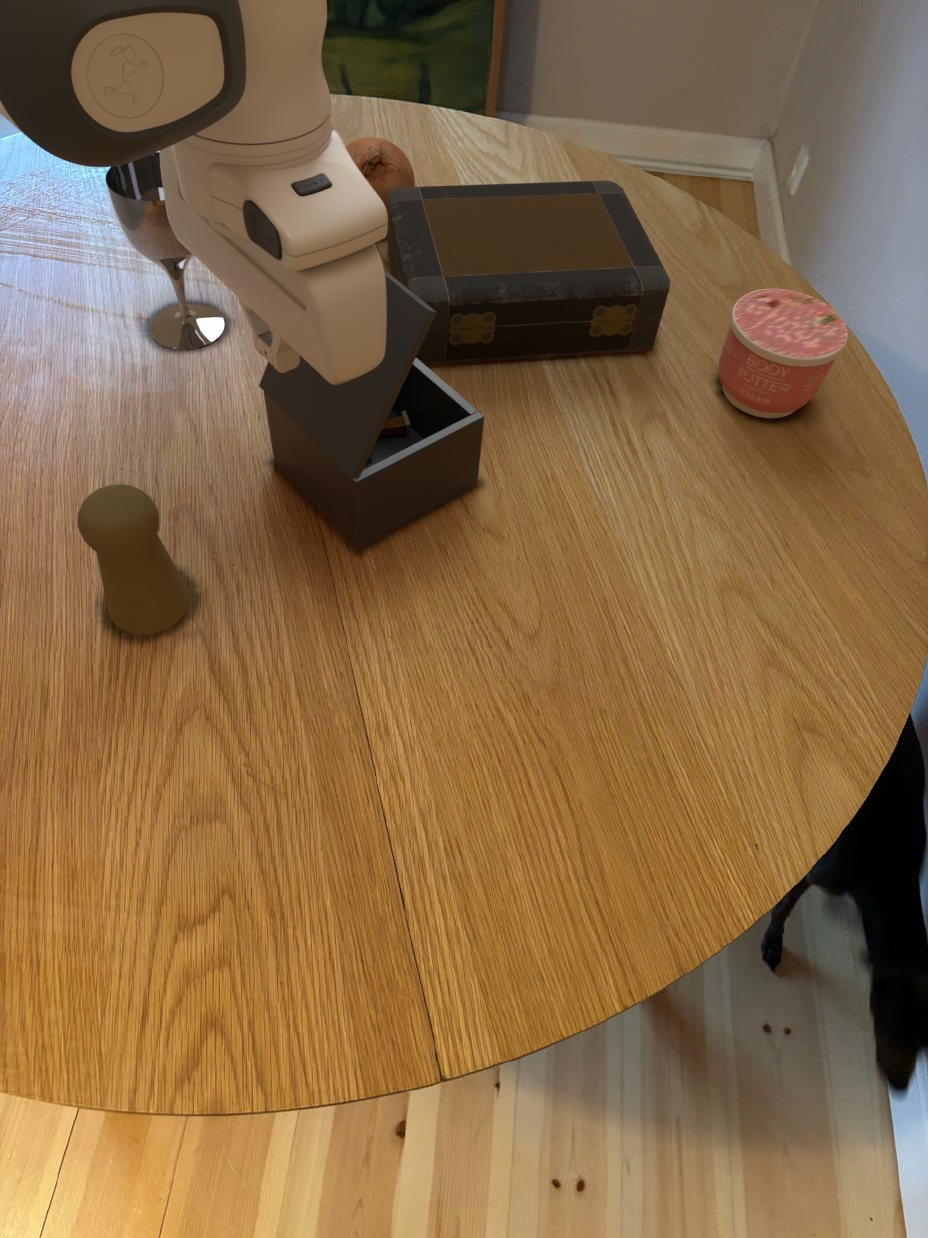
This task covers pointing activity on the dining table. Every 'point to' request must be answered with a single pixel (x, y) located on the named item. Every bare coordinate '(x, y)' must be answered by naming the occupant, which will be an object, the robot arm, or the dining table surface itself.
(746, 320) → the container
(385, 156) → the onion
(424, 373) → the box
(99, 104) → the robot arm
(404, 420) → the wooden post with brackets
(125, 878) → the dining table surface
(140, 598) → the pepper shaker
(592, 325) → the jewelry box
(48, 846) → the dining table surface
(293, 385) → the lid
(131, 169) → the wine glass
